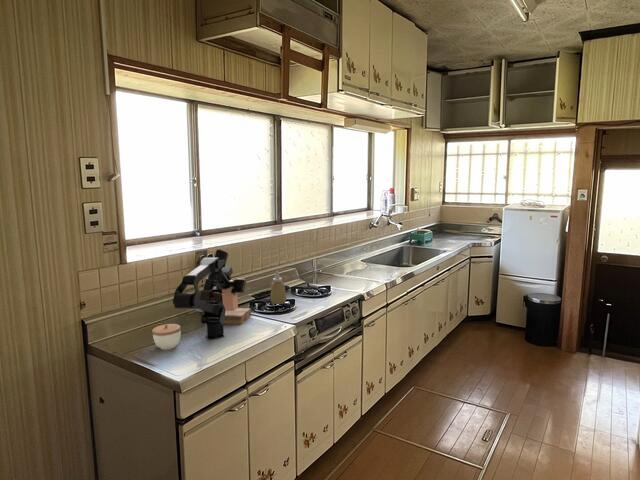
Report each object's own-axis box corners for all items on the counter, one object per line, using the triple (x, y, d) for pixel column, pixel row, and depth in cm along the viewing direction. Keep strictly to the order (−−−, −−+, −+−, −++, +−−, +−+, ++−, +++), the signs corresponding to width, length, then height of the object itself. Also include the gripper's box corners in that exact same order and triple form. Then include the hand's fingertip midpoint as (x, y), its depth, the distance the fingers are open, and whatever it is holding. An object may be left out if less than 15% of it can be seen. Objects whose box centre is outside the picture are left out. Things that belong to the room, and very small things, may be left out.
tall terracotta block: (233, 310, 198) (231, 283, 196) (223, 310, 199) (221, 283, 197) (238, 307, 203) (235, 280, 201) (228, 307, 204) (225, 280, 202)
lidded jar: (167, 340, 181) (165, 318, 180) (187, 343, 177) (185, 321, 176) (147, 350, 171) (145, 327, 170) (169, 353, 167) (167, 330, 166)
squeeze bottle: (279, 302, 230) (278, 269, 227) (289, 305, 224) (288, 271, 222) (267, 305, 224) (265, 271, 222) (277, 308, 219) (275, 274, 216)
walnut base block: (241, 324, 198) (241, 316, 198) (217, 323, 201) (216, 315, 200) (251, 316, 210) (250, 308, 209) (228, 315, 212) (227, 307, 212)
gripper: (243, 261, 192) (253, 279, 204) (204, 261, 195) (216, 279, 208) (237, 283, 185) (248, 300, 197) (197, 282, 189) (210, 299, 201)
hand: (230, 294), depth 201 cm, fingers closed on tall terracotta block, 5 cm apart
